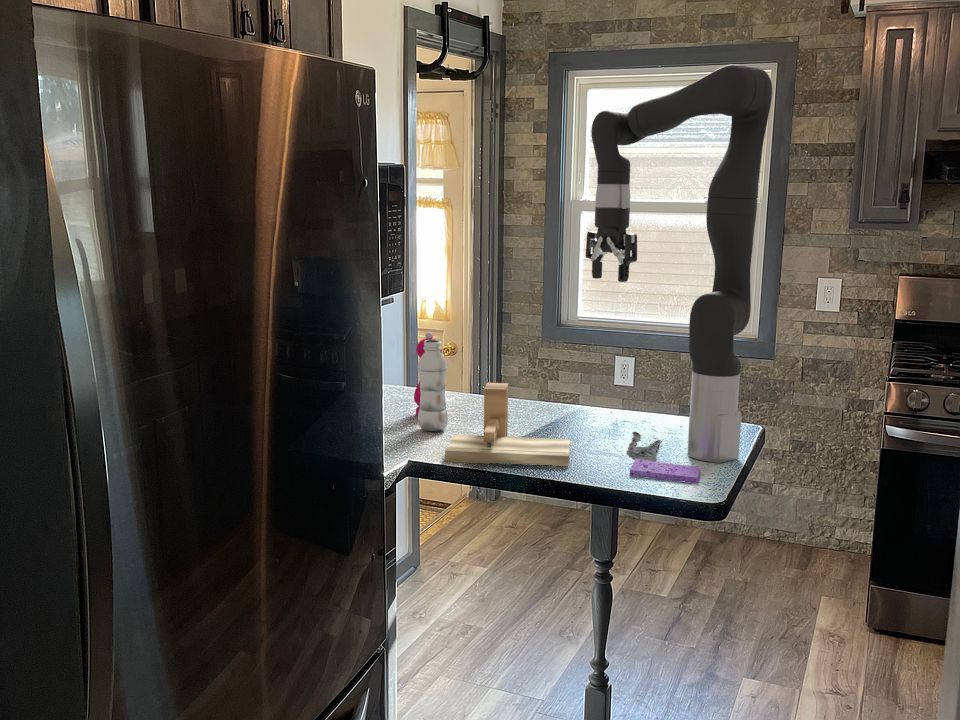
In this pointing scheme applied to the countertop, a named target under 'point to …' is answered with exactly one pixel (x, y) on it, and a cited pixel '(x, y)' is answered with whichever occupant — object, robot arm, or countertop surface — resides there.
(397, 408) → the countertop surface
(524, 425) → the countertop surface
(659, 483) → the countertop surface
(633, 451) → the driftwood
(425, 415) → the plastic bottle
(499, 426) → the block
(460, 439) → the pine board
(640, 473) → the sponges
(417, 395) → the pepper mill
